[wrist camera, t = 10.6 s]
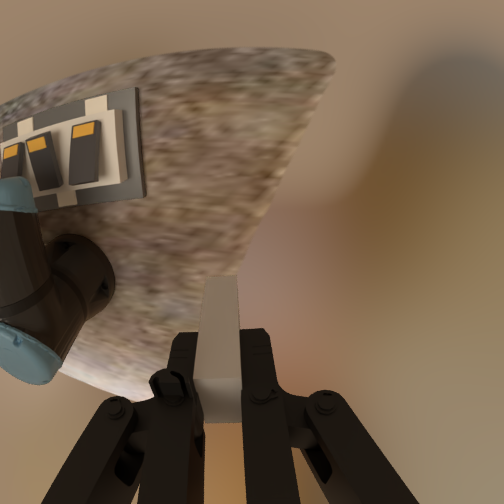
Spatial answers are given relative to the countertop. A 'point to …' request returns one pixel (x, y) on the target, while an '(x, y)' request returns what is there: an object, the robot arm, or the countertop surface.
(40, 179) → the rocker switch
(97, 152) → the rocker switch
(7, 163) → the rocker switch
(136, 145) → the switch unit
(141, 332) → the countertop surface
